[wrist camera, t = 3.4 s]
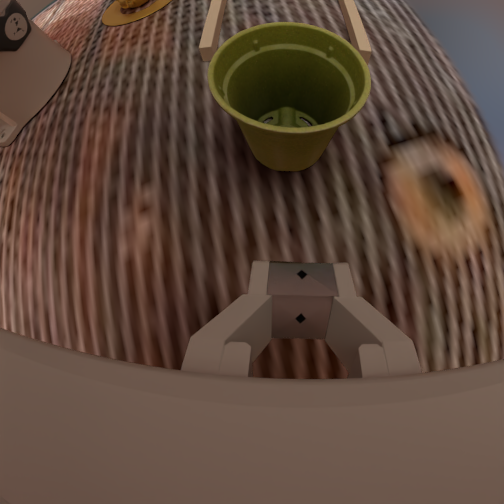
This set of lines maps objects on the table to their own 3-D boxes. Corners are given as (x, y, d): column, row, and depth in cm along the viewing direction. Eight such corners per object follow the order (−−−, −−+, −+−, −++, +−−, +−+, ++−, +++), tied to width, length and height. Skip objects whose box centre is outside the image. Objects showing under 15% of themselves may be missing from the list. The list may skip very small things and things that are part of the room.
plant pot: (367, 142, 22) (399, 73, 14) (291, 219, 22) (298, 165, 13) (283, 81, 24) (282, 7, 16) (206, 144, 24) (175, 75, 15)
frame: (203, 61, 25) (198, 48, 24) (219, -7, 28) (217, -18, 26) (367, 64, 24) (371, 51, 22) (344, -6, 27) (346, -17, 25)
